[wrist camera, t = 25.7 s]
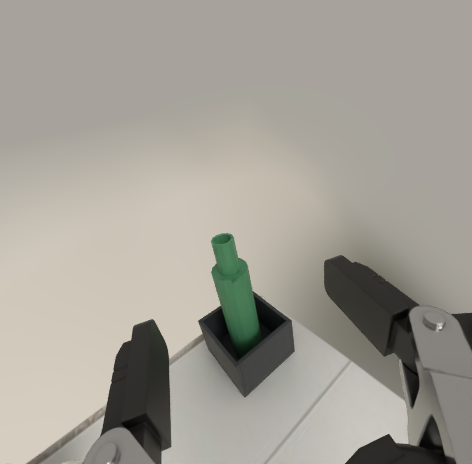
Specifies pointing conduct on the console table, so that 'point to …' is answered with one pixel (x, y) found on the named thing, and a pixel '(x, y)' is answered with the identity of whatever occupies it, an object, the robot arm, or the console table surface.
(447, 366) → the robot arm
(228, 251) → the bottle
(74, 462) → the mug
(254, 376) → the bin
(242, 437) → the console table surface
